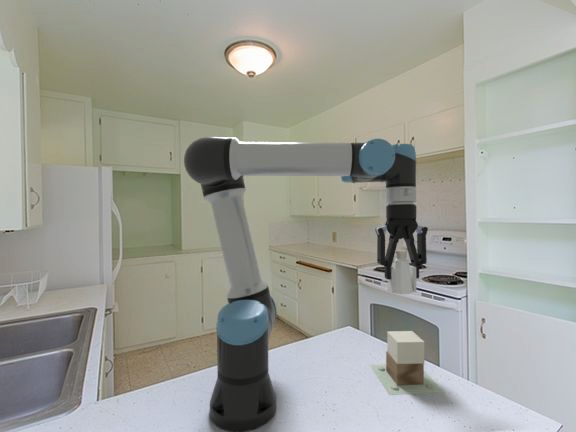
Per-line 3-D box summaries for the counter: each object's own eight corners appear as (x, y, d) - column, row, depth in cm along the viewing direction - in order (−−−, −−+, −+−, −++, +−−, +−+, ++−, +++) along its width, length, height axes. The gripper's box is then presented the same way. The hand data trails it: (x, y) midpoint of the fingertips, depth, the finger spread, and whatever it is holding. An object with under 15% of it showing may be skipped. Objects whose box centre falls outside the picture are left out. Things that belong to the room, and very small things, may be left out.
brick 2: (397, 385, 76) (397, 364, 76) (386, 370, 83) (386, 351, 83) (423, 384, 76) (423, 363, 76) (410, 370, 83) (410, 350, 83)
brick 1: (397, 363, 76) (397, 342, 76) (387, 351, 83) (387, 331, 83) (424, 363, 76) (424, 341, 76) (412, 350, 83) (412, 331, 83)
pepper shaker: (401, 295, 76) (400, 252, 76) (386, 290, 81) (386, 250, 81) (417, 292, 78) (416, 250, 78) (402, 288, 83) (401, 248, 83)
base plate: (389, 398, 72) (389, 393, 72) (369, 368, 86) (369, 363, 86) (444, 396, 73) (444, 390, 73) (416, 366, 87) (416, 362, 87)
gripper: (372, 203, 75) (373, 296, 75) (442, 202, 76) (443, 293, 76) (363, 204, 82) (364, 288, 82) (426, 203, 83) (427, 286, 84)
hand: (402, 290), depth 79 cm, fingers closed on pepper shaker, 5 cm apart
